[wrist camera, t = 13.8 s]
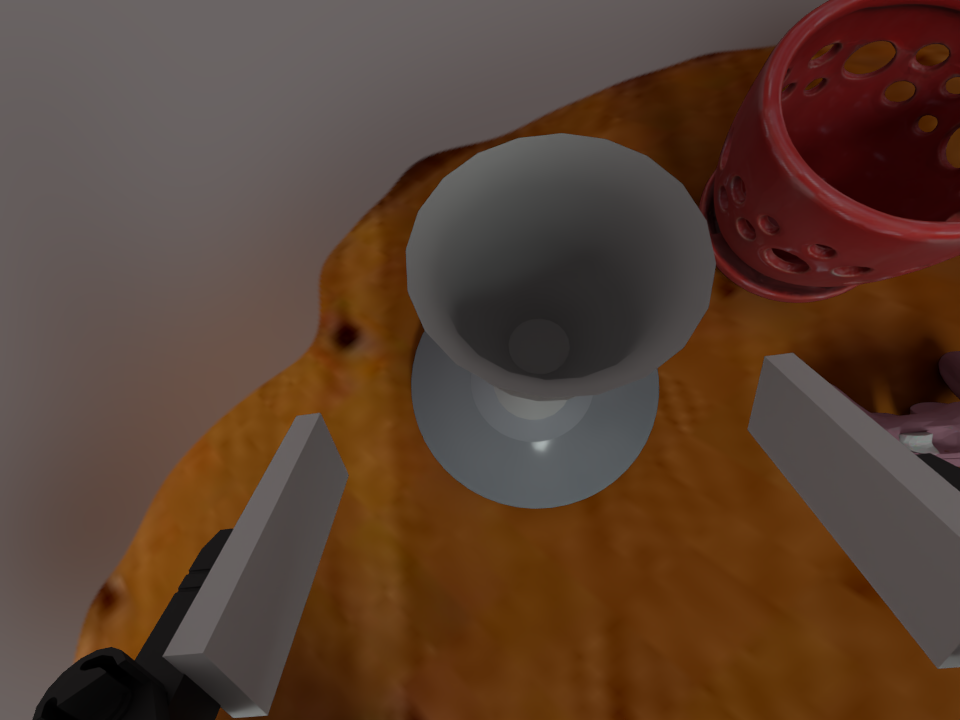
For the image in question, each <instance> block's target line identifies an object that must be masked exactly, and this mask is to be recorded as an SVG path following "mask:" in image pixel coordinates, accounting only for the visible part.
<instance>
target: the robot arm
mask: <svg viewBox="0 0 960 720" xmlns="http://www.w3.org/2000/svg"><path fill="white" fill-rule="evenodd" d="M748 431H749V432H750V433H751V435H752V436H753V437H754V438H755V440H756V441H757V442H758V443H759V445H760V446H761V447H762V448H763V450H764V451H765V452H766V453H767V455H768V456H769V457H770V458H771V460H772V461H773V462H774V463H775V465H776V466H777V467H778V468H779V470H780V471H781V472H782V474H783V475H784V476H785V477H786V479H787V480H788V481H789V482H790V484H791V485H792V486H793V487H794V489H795V490H796V491H797V492H798V494H799V495H800V496H801V497H802V499H803V500H804V501H805V502H806V504H807V505H808V506H809V507H810V509H811V510H812V511H813V512H814V514H815V515H816V516H817V517H818V519H819V520H820V521H821V523H822V524H823V525H824V526H825V528H826V529H827V530H828V531H829V533H830V534H831V535H832V536H833V538H834V539H835V540H836V541H837V543H838V544H839V545H840V546H841V548H842V549H843V550H844V551H845V553H846V554H847V555H848V556H849V558H850V559H851V560H852V561H853V563H854V564H855V565H856V567H857V568H858V569H859V570H860V572H861V573H862V574H863V575H864V577H865V578H866V579H867V580H868V582H869V583H870V584H871V585H872V587H873V588H874V589H875V590H876V592H877V593H878V594H879V595H880V597H881V598H882V599H883V600H884V602H885V603H886V604H887V605H888V607H889V608H890V609H891V610H892V612H893V613H894V614H895V616H896V617H897V618H898V619H899V621H900V622H901V623H902V624H903V626H904V627H905V628H906V629H907V631H908V632H909V633H910V634H911V636H912V637H913V638H914V639H915V641H916V642H917V643H918V644H919V646H920V647H921V648H922V649H923V651H924V652H925V653H926V654H927V656H928V657H929V658H930V660H931V661H932V662H933V663H934V665H935V666H936V667H937V668H938V669H939V668H953V667H960V468H959V467H957V466H955V465H953V464H951V463H949V462H947V461H945V460H943V459H941V458H939V457H937V456H935V455H933V454H931V453H924V454H914V453H913V452H911V451H910V450H909V449H908V448H907V447H905V446H904V445H903V444H902V443H901V442H899V441H898V440H897V439H896V438H895V437H893V436H892V435H891V434H890V433H889V432H887V431H886V430H885V429H884V428H883V427H881V426H880V425H879V424H878V423H877V422H875V421H874V420H873V419H872V418H871V417H869V416H868V415H867V414H866V413H865V412H863V411H862V410H861V409H860V408H859V407H857V406H856V405H855V404H854V403H852V402H851V401H850V400H849V399H848V398H846V397H845V396H844V395H843V394H842V393H840V392H839V391H838V390H837V389H836V388H834V387H833V386H832V385H831V384H830V383H828V382H827V381H826V380H825V379H824V378H822V377H821V376H820V375H819V374H818V373H816V372H815V371H814V370H813V369H812V368H810V367H809V366H808V365H807V364H806V363H804V362H803V361H802V360H801V359H800V358H798V357H797V356H796V355H795V354H794V353H788V354H780V355H772V356H765V357H764V361H763V366H762V370H761V374H760V378H759V383H758V387H757V391H756V395H755V400H754V404H753V408H752V412H751V417H750V421H749V425H748ZM348 476H349V475H348V473H347V470H346V468H345V466H344V464H343V462H342V459H341V457H340V455H339V453H338V451H337V448H336V446H335V444H334V442H333V440H332V437H331V435H330V433H329V431H328V429H327V426H326V424H325V422H324V420H323V418H322V415H321V413H316V414H308V415H301V416H296V418H295V420H294V422H293V423H292V425H291V427H290V429H289V431H288V432H287V434H286V436H285V438H284V440H283V441H282V443H281V445H280V447H279V449H278V450H277V452H276V454H275V456H274V457H273V459H272V461H271V463H270V465H269V466H268V468H267V470H266V472H265V474H264V475H263V477H262V479H261V481H260V483H259V484H258V486H257V488H256V490H255V492H254V493H253V495H252V497H251V499H250V500H249V502H248V504H247V506H246V508H245V509H244V511H243V513H242V515H241V517H240V518H239V520H238V522H237V524H236V526H235V527H234V529H225V530H220V531H219V532H218V533H217V534H216V535H215V536H214V537H213V538H212V539H211V540H210V541H209V542H208V543H207V544H206V545H205V546H204V547H203V548H202V550H201V551H200V553H199V555H198V556H197V558H196V560H195V561H194V563H193V565H192V566H191V568H190V570H189V574H188V575H186V576H185V578H184V579H183V581H182V583H181V584H180V586H179V588H178V589H179V591H178V592H177V593H175V594H174V596H173V598H172V599H171V601H170V603H169V604H168V606H167V608H166V609H165V611H164V613H163V614H162V616H161V618H160V619H159V621H158V623H157V624H156V626H155V628H154V629H153V631H152V633H151V634H150V636H149V637H148V639H147V641H146V642H145V644H144V646H143V647H142V649H141V651H140V652H139V654H138V656H137V657H136V659H135V661H134V660H133V659H132V658H130V657H129V656H128V655H127V654H125V653H124V652H123V651H122V650H119V649H116V648H113V647H109V648H104V649H99V650H96V651H94V652H93V653H91V654H89V655H87V656H85V657H83V658H81V659H80V660H78V661H77V662H76V663H75V664H73V665H72V666H71V667H70V668H68V669H67V670H66V671H65V672H63V673H62V674H61V675H60V676H59V678H58V679H57V680H56V681H55V682H54V683H53V684H52V685H51V686H50V687H49V688H48V690H47V691H46V693H45V695H44V696H43V698H42V699H41V701H40V703H39V704H38V705H37V707H36V710H35V714H34V717H33V720H215V718H216V716H217V714H218V711H219V709H220V707H221V708H222V709H224V710H225V711H226V712H227V713H228V714H229V715H231V716H232V717H233V718H240V717H254V716H268V713H269V710H270V707H271V704H272V701H273V698H274V695H275V693H276V690H277V687H278V684H279V681H280V678H281V675H282V672H283V669H284V666H285V663H286V660H287V657H288V654H289V651H290V648H291V645H292V642H293V639H294V636H295V633H296V630H297V627H298V624H299V621H300V618H301V615H302V612H303V609H304V606H305V603H306V600H307V597H308V595H309V592H310V589H311V586H312V583H313V580H314V577H315V574H316V571H317V568H318V565H319V562H320V559H321V556H322V553H323V550H324V547H325V544H326V541H327V538H328V535H329V532H330V529H331V526H332V523H333V520H334V517H335V514H336V511H337V508H338V505H339V502H340V500H341V497H342V494H343V491H344V488H345V485H346V482H347V479H348Z"/></svg>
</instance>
